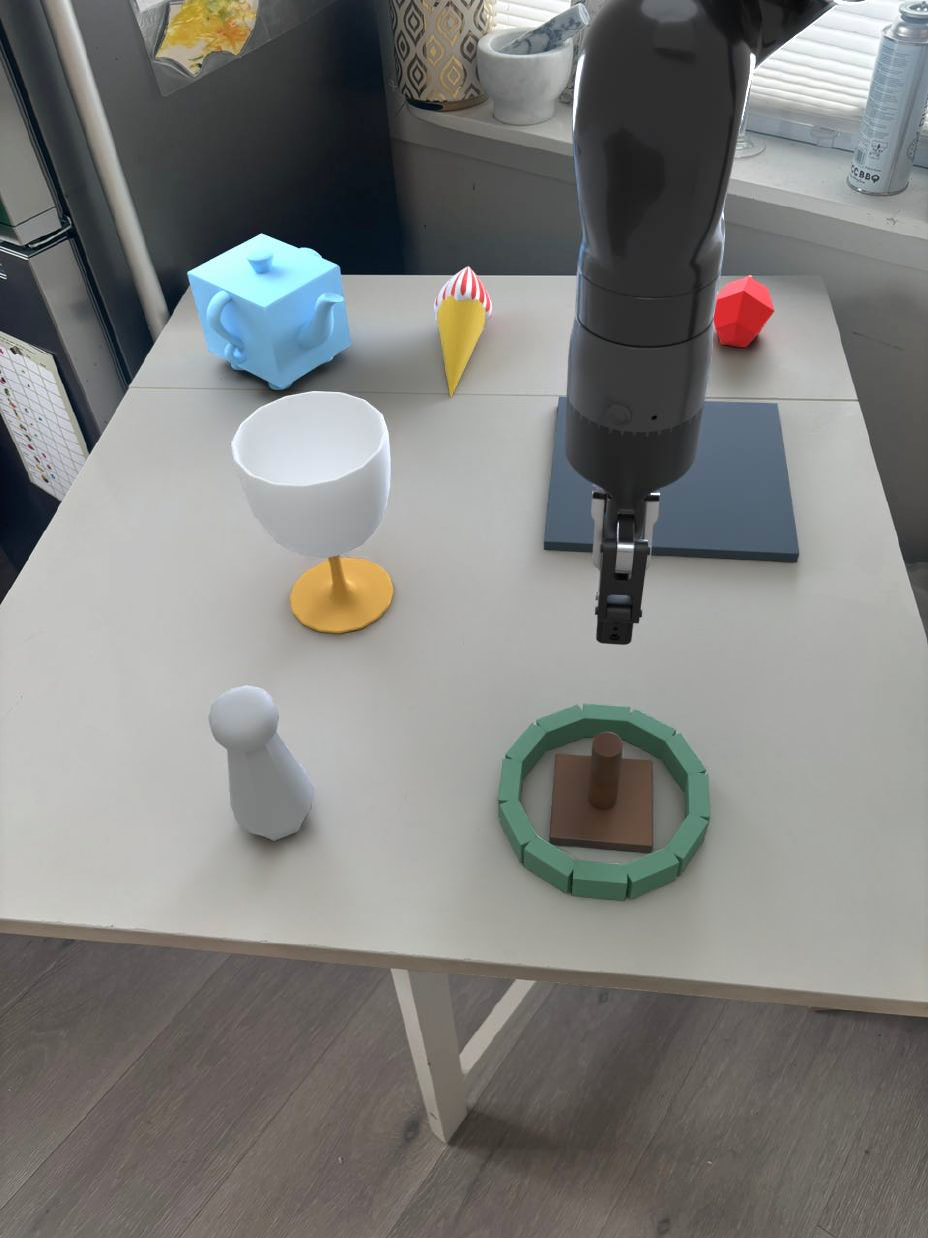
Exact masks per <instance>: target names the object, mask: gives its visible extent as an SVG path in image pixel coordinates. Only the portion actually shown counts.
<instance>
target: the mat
mask: <svg viewBox="0 0 928 1238" xmlns="http://www.w3.org/2000/svg"><path fill="white" fill-rule="evenodd" d="M779 409H780V408H779V404H778V402H776V403H775V402H749V401H719V400H718V401H717V400H716V401H715V400H705V403H704V409H703V416H702V422H701V428H700V433H699V439H698V445H697V451H696V457H695V460H694V462H693V464H692V466H691V468H690V469H689V470H688V472H687V473H686V474H685V475H684V476H683V477H681V478H680V479H679V480H677V481H676V482H674V483H672V484H670V485H668V486H666V487H663V488H661V489H658V490H656V491H654V492H652V493H660V504H659V517H658V520H657V522H656V523H655V524H654V526H653V538H652V551H651V556H668V557H669V556H670V557H690V558H708V559H709V558H710V559H727V560H729V559H730V560H748V561H768V562H769V561H771V562H786V563H787V562H788V563H798V560H799V557H800V549H799V543H798V542H799V541H798V535H797V528H796V521H795V513H794V507H793V499H792V493H791V486H790V480H789V474H788V473H789V472H788V466H787V459H786V458H787V457H786V451H785V445H784V444H785V443H784V438H783V429H782V424H781V417H780V410H779ZM565 420H566V396H563V395H562V396H558V401H557V412H556V420H555V421H556V422H555V429H554V430H555V431H554V432H555V433H554V441H553V451H552V459H551V469H550V478H549V488H548V498H547V505H546V506H547V507H546V517H545V525H544V536H543V550H547V551H570V552H587V553H588V552H589V553H591V552H592V553H593V539H594V524H595V521H594V520H593V518H592V516H591V506H592V492H593V490H596V487H595V486H593V483H591V482H589V481H588V480H586V479H585V478H583V477H582V476H580V475H579V474H578V473H577V472H576V471H575V470H574V469H573V467H572V466H571V465H570V463H569V461H568V459H567V457H566V454H565V448H564V443H565ZM640 539H641V540H642V539H643V531H642V534H641V537H640Z"/></svg>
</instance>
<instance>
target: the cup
mask: <svg viewBox="0 0 928 1238" xmlns="http://www.w3.org/2000/svg"><path fill="white" fill-rule="evenodd" d="M230 445H231V454H232V460H233V464H234V467H235V471H236V473H237V476H238V479H239V482H240V485H241V489H242V490H243V493H244V495H245V497H246V499H247V502H248V503H249V506H250V508H251V511H252V512H253V515H254V517H256V519H257V520H258V521H257V522H259V523H260V525H261V526H262V528H263V530H265V532H266V533H267V534H268V535H269V536H270V537H271V538H272V539H273V540H274V541H275V542H276V543H277V544H279V545H280V546H282V547H283V548H285V549H286V550H288V551H290V552H292V553H295V554H297V555H300V556H302V557H305V558H321V559H328V560H324V561H322V562H319V563H318V564H316V565H315V566H312V567H311V568H308V569H307V570H305V572H303V574H302V575H300V576H299V578H298V579H297V580H296V581H295V582H294V584H293V587H292V590H291V593H290V595H289V603H290V608H291V612H292V614H293V615H294V617H296V619H297V620H298V621H299V622H300V623H301V624H302V625H303V626H305V627H307V628H309V629H312V630H314V631H316V632H319V633H327V634H344V633H349V632H353V631H358V630H362V629H364V628H365V627H368V626H369V625H370V624H373V623H374V622H376V621H377V620H379V619H380V618H381V617H382V616H383V614H384V613H385V612H387V610H388V609H389V607H390V606H391V603H392V600H393V596H394V592H395V589H394V586H393V581H392V579H391V576H390V574H389V573H388V572H387V571H386V570H384V569H383V567H382V566H380V564H378V563H375V562H372V561H370V560H367V559H364V558H357V557H341V556H342V555H346V554H347V553H349V552H351V551H353V550H355V549H357V548H359V547H361V546H362V545H364V544H365V542H366V541H367V540H368V539H369V538H370V537H371V536H372V535H373V534H374V533H375V531H376V530H377V529H378V527H379V526H380V524H382V522H383V518H384V514H385V511H386V509H387V504H388V499H389V495H390V491H391V465H392V464H391V463H392V462H391V460H392V459H391V448H390V434H389V429H388V427H387V424H386V421H385V418H384V415H383V413H381V412H380V411H379V410H378V409H377V408H376V407H375V406H373V405H372V404H370V402H368V401H367V400H365V399H363V398H361V397H357V396H354V395H351V394H348V393H345V392H341V391H323V390H322V391H319V390H313V391H306V392H300V393H296V394H291V395H285V396H283V397H281V398H278V399H276V400H274V401H271V402H269V403H267V404H265V405H262V406H260V407H258V408H257V409H256V410H255V411H254V412H253V413H251V414H250V415H249V416H248V417H246V418H245V419H244V420H243V421H242V422H241V423H240V425H239V426H238V428H237V430H236V432H235V434H234V437H233V439H231V442H230Z"/></svg>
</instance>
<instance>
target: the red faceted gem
mask: <svg viewBox="0 0 928 1238" xmlns="http://www.w3.org/2000/svg"><path fill="white" fill-rule="evenodd" d="M774 313H775V308H774V303H773V300H772V298H771V294H770V289H769V288H768V287H767V286H766V285H764V284H762V283H760V282H759V281H758V280H756V279H755V278H753V275H750V274H749V275H747V276H745V277H742V278H739V279H736V280H733V281H730V282H728V283H727V284H726V285H724V287H723V288H721V290H720V291H718V294H717V300H716V306H715V312H714V319H713V325H714V328H715V331H716V333H717V336H718V340H719V342H720V344H721V345H724V346H730V347H737V348H744V349H745V348H748V346H749V345H750V344H751V343H752V342H753V341H754V339H755V338H756V337H757V336H758V335H759V333H761V331H762V330H763V328H764V327H765V326H766V324H767V322H768V321H769V320H770V318H771V317H772V316H773V314H774Z"/></svg>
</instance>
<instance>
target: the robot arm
mask: <svg viewBox="0 0 928 1238" xmlns="http://www.w3.org/2000/svg"><path fill="white" fill-rule="evenodd" d="M868 1H869V0H604V1H603V3H602V5H601V6H600V8H599V9H598V11H597V13H596V14H595V15H594V18H593V20H592V21H591V23H590V25H589V27H588V29H587V31H586V33H585V34H584V36H583V40H582V42H581V46H580V48H579V53H578V57H577V61H576V67H575V74H574V80H573V81H574V82H573V94H572V111H571V112H572V114H571V118H572V119H571V134H572V153H573V154H572V155H573V165H574V177H575V187H576V196H577V197H576V199H577V206H578V212H579V217H580V225H581V226H580V233H579V240H578V252H577V263H576V281H575V283H576V284H575V286H576V287H575V301H574V302H575V303H574V318H573V323H572V327H571V332H570V336H569V337H570V338H569V345H568V355H567V372H566V373H567V374H566V375H567V376H566V378H567V379H566V396H565V397H566V420H565V443H564V448H565V454H566V457H567V459H568V461H569V463H570V465H571V466H572V467H573V469H574V470H575V471H576V472H577V473H578V474H579V475H580V476H582V477H583V478H585V479H586V480H588V481H589V482H591V483H593V486H595V487H596V490H593V492H592V506H591V516H592V518H593V520H594V521H595V524H594V539H593V552H592V553H591V555H592V557H591V559H592V560H591V561H592V565H593V566H594V567H595V568H596V569H597V570H598V571H599V576H598V591H595V601H597V606H594V607H595V608H594V615H595V616H596V634H595V640H596V641H597V642H598V643H600V644H605V645H616V646H617V645H620V646H627V645H629V644H631V642H632V638H633V631H634V630H633V629H634V624H640V619H642V618H643V609H642V604H643V603H642V601H643V594H644V588H645V587H644V586H645V579H646V571H647V570H648V569H649V568H650V567H651V562H652V555H651V551H652V538H653V526H654V524H655V523H656V522H657V520H658V517H659V504H660V493H652V492H654V491H656V490H658V489H661V488H663V487H666V486H668V485H670V484H672V483H674V482H676V481H677V480H679V479H680V478H681V477H683V476H684V475H685V474H686V473H687V472H688V470H689V469H690V468H691V466H692V464H693V462H694V460H695V457H696V451H697V445H698V439H699V433H700V428H701V422H702V416H703V409H704V403H705V401H706V398H707V397H706V396H707V391H708V384H709V379H710V373H711V367H712V360H713V344H714V343H713V342H714V340H713V339H714V338H713V337H714V336H713V331H714V329H713V328H714V320H713V319H714V312H715V306H716V300H717V294H718V293H719V288H720V281H721V275H722V268H723V261H724V250H725V241H726V240H725V239H726V238H725V237H726V223H725V222H726V221H725V217H724V209H725V205H726V200H727V196H728V190H729V187H730V186H729V185H730V180H731V176H732V170H733V167H734V166H733V165H734V160H735V155H736V150H737V145H738V140H739V135H740V129H741V126H742V121H743V116H744V112H745V107H746V103H747V97H748V93H749V88H750V85H751V80H752V77H753V73H755V71H757V70H758V68H759V67H761V66H762V65H763V64H764V63H765V62H766V61H767V60H768V59H769V58H771V57H772V56H773V55H774V54H775V53H777V52H778V51H779V50H781V48H783V47H784V46H785V45H787V44H788V43H790V41H792V40H793V39H795V38H796V37H797V36H798V35H799V34H801V33H803V32H804V31H805V30H806V29H808V28H809V27H811V26H812V25H813V24H815V23H816V22H817V21H818V20H820V19H821V18H822V17H824V16H825V15H827V13H830V11H832V10H833V9H834V8H835V7H837V6H838V5H840V4H847V5H855V4H862V3H866V2H868ZM642 531H643V539H642V540H641V539H640V537H641V534H642Z"/></svg>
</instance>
